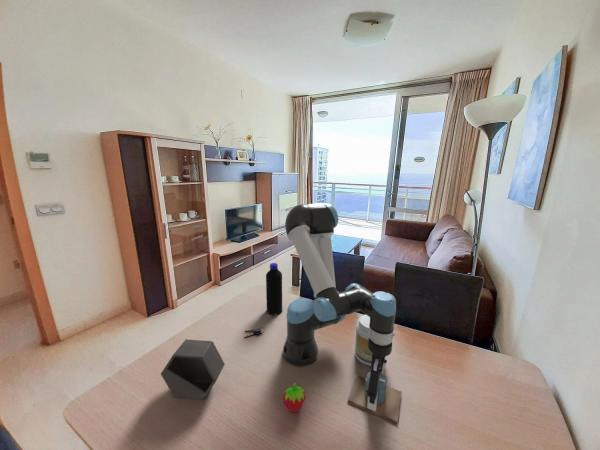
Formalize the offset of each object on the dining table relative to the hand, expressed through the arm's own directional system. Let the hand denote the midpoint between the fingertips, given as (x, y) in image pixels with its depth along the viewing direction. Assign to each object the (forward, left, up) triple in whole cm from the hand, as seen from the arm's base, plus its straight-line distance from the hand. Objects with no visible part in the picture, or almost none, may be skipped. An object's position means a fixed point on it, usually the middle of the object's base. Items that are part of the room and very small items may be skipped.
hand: (375, 392), depth 84 cm
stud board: (0, 0, -2) cm, 2 cm away
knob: (0, 0, -1) cm, 1 cm away
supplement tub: (-6, +19, -3) cm, 20 cm away
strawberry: (-23, -17, -3) cm, 29 cm away
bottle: (-61, +29, -3) cm, 68 cm away
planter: (-58, -27, -3) cm, 64 cm away
